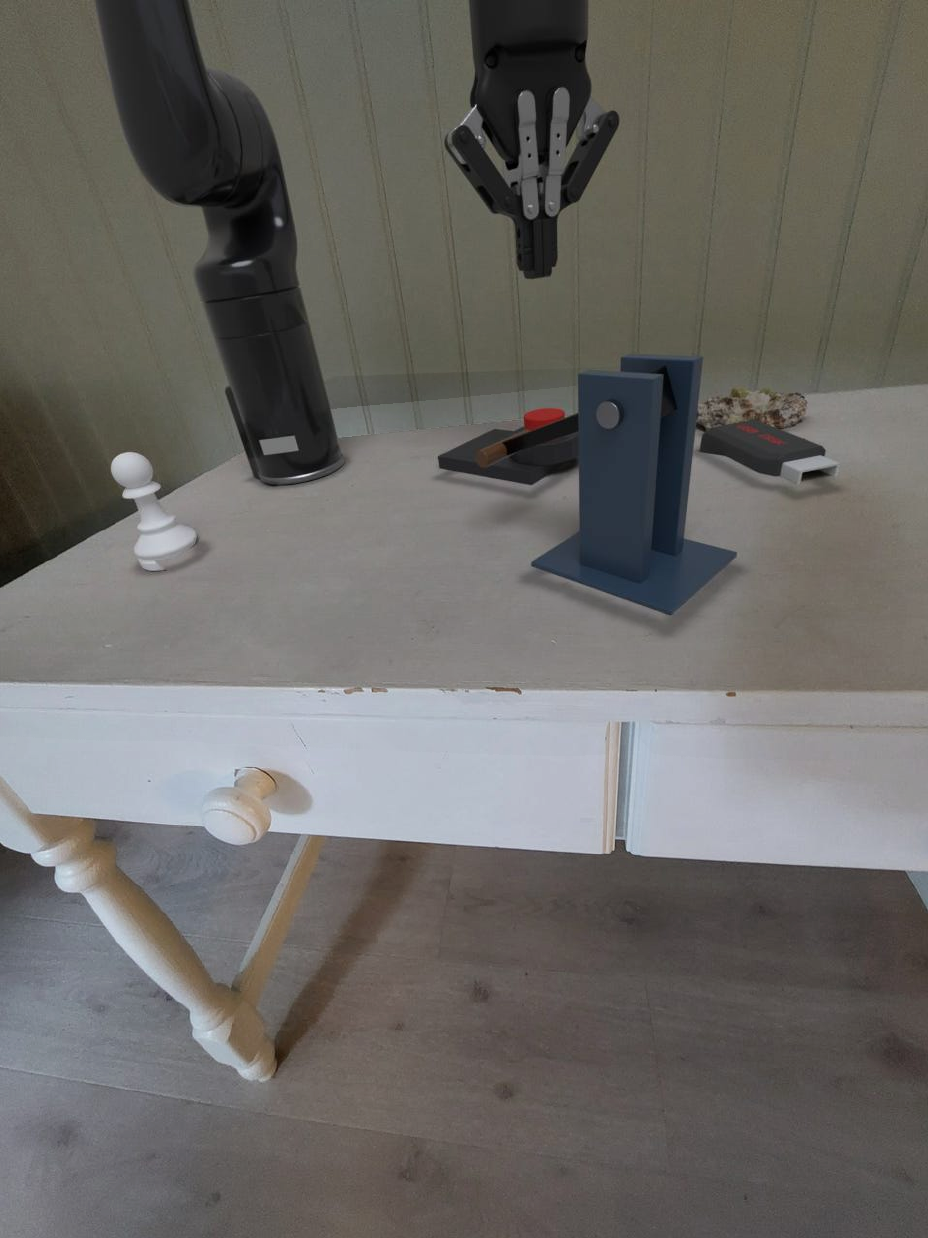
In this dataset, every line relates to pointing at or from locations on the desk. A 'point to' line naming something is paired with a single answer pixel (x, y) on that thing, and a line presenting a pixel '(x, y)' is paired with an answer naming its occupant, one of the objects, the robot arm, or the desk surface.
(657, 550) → the stand
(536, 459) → the box
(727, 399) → the mineral rock
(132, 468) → the chess pawn
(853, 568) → the desk surface
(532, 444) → the switch lever
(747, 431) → the usb drive
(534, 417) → the red button
